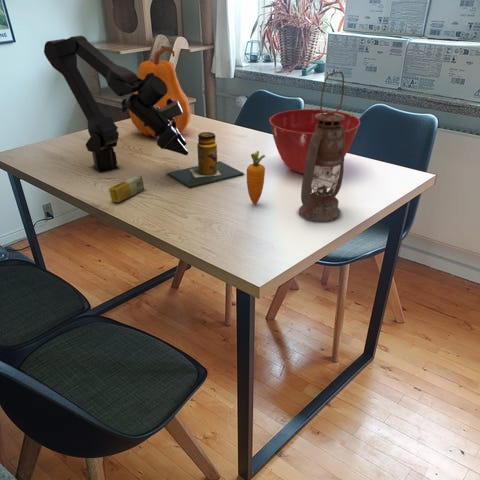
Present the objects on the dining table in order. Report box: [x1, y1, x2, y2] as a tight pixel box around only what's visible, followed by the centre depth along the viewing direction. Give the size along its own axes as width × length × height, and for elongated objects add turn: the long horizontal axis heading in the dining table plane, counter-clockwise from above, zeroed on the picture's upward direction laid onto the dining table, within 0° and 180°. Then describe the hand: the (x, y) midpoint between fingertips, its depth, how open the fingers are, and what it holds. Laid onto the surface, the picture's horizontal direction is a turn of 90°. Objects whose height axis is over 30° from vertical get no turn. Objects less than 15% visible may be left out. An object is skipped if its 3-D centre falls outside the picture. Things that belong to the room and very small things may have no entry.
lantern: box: [298, 71, 345, 223], centre depth 123 cm, size 11×16×35 cm
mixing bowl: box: [268, 108, 361, 176], centre depth 158 cm, size 28×28×16 cm
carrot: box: [246, 150, 266, 206], centre depth 134 cm, size 5×5×15 cm
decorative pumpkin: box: [128, 46, 192, 138], centre depth 185 cm, size 24×24×30 cm
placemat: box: [167, 160, 244, 189], centre depth 157 cm, size 20×14×1 cm
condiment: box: [190, 131, 221, 178], centre depth 153 cm, size 7×8×12 cm
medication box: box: [108, 175, 145, 203], centre depth 142 cm, size 12×3×4 cm, turn 152°
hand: (186, 149), depth 152 cm, fingers open, 9 cm apart
